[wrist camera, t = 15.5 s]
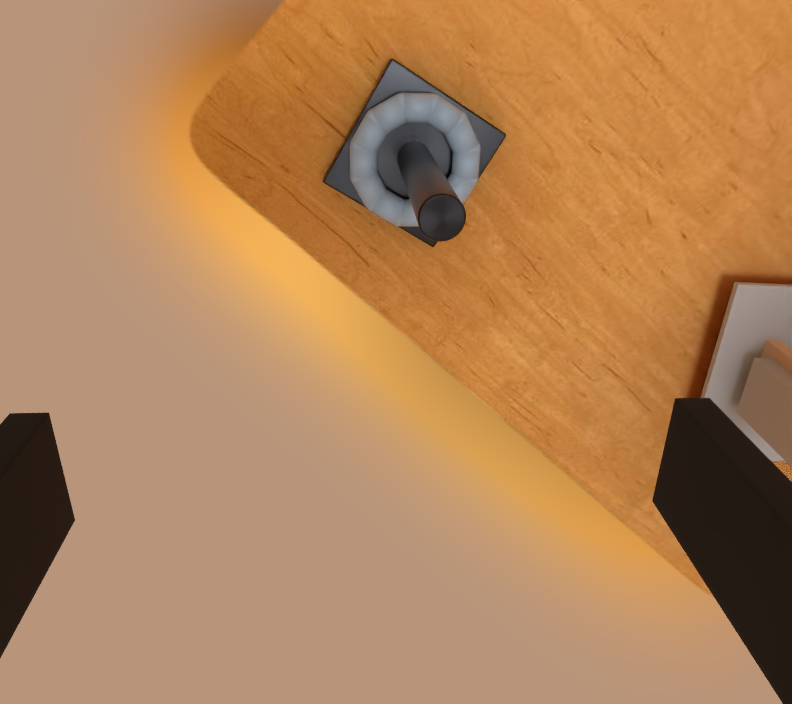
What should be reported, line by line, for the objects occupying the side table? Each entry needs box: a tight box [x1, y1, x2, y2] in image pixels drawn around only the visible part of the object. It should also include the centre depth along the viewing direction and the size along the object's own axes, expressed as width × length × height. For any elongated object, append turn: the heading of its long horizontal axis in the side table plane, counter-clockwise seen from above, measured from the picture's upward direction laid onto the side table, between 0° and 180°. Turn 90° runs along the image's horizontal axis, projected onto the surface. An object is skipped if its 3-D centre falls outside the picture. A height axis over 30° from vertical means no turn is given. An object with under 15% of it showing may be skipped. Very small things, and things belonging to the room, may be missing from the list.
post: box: [323, 58, 506, 247], centre depth 35 cm, size 8×8×15 cm
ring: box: [350, 92, 480, 227], centre depth 40 cm, size 8×8×2 cm
